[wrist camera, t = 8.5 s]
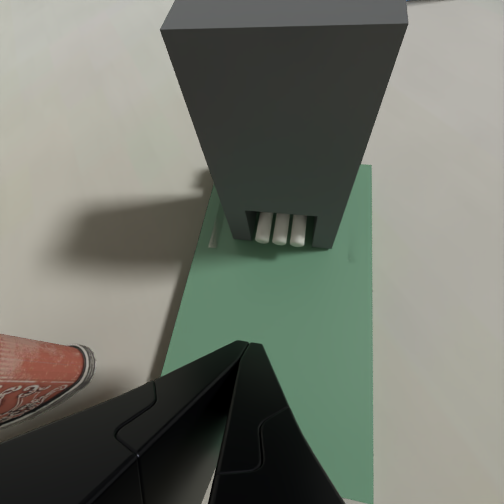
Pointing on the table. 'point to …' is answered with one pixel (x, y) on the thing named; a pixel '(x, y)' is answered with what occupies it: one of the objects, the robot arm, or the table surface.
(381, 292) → the table surface
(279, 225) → the header
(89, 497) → the robot arm
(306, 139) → the plug
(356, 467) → the board
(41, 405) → the lighter
